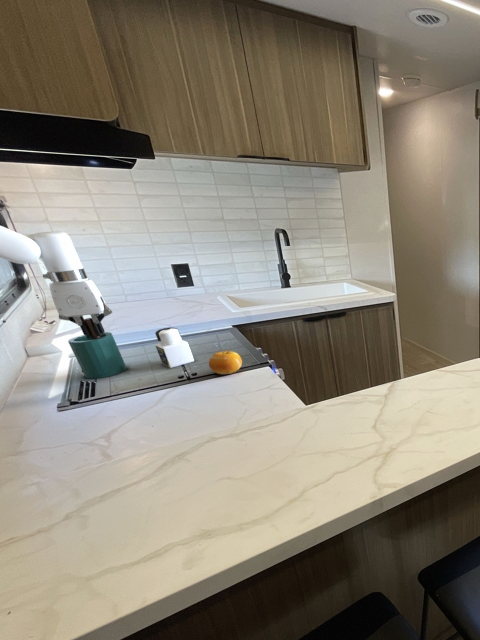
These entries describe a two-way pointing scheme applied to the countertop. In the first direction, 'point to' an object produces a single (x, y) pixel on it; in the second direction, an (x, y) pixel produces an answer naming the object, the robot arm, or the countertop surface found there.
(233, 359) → the fruit
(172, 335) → the medicine bottle
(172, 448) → the countertop surface
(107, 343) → the jar
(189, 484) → the countertop surface
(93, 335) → the brush
